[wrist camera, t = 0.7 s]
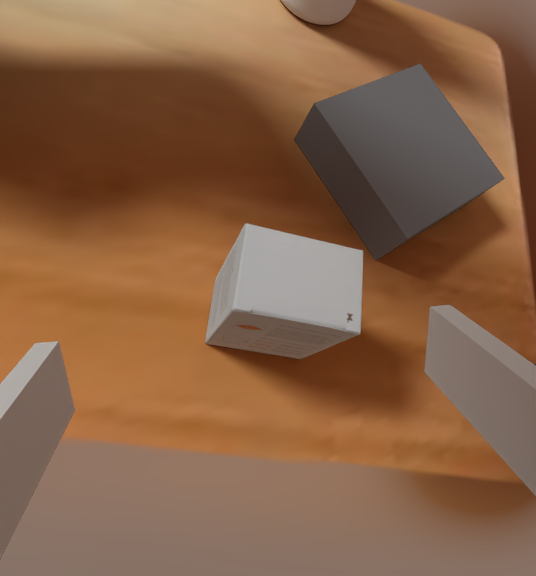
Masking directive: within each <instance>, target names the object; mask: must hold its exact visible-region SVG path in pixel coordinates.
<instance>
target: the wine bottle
mask: <svg viewBox="0 0 536 576" xmlns="http://www.w3.org/2000/svg"><path fill="white" fill-rule="evenodd" d="M281 1H282V3H283V4H284V5H285V6H286V7H287V8H288V9H289V10H290V11H291V12H292V13H293V14H295V15H296V16H298V17H299V18H301V19H303V20H305V21H307V22H310V23H314V24H318V25H330V24H334V23H338V22H339V21H341V20H343V19H344V18H345V17H346V16H347V15H348V14H349V13H350V12H351V10H352V8H353V6H354V4H355V3H356V1H357V0H281Z"/></svg>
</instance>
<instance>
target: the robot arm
mask: <svg viewBox="0 0 536 576" xmlns="http://www.w3.org/2000/svg"><path fill="white" fill-rule="evenodd" d="M424 372H425V373H426V374H427V375H428V377H429V378H430V379H431V380H432V381H433V382H434V383H435V384H436V386H437V387H438V388H439V389H440V390H441V391H442V392H443V393H444V394H445V396H446V397H447V398H448V399H449V400H450V401H451V402H452V403H453V404H454V406H455V407H456V408H457V409H458V410H459V411H460V412H461V413H462V415H463V416H464V417H465V418H466V419H467V420H468V421H469V422H470V423H471V425H472V426H473V427H474V428H475V429H476V430H477V431H478V432H479V433H480V435H481V436H482V437H483V438H484V439H485V440H486V441H487V442H488V443H489V445H490V446H491V447H492V448H493V449H494V450H495V451H496V452H497V454H498V455H499V456H500V457H501V458H502V459H503V460H504V461H505V462H506V464H507V465H508V466H509V467H510V468H511V469H512V470H513V471H514V472H515V474H516V475H517V476H518V477H519V478H520V479H521V480H522V481H523V483H524V484H525V485H526V486H527V487H528V488H529V489H530V490H531V491H532V493H533V494H534V495H535V496H536V364H533V363H531V362H530V361H528V360H527V359H526V358H524V357H523V356H521V355H520V354H519V353H517V352H516V351H514V350H513V349H512V348H510V347H509V346H507V345H506V344H505V343H503V342H502V341H500V340H499V339H498V338H496V337H495V336H493V335H492V334H491V333H489V332H488V331H486V330H485V329H483V328H482V327H481V326H479V325H478V324H476V323H475V322H474V321H472V320H471V319H469V318H468V317H467V316H465V315H464V314H462V313H461V312H460V311H458V310H457V309H455V308H454V307H453V306H451V305H441V306H430V314H429V325H428V337H427V348H426V359H425V371H424ZM74 411H75V408H74V403H73V399H72V395H71V391H70V387H69V382H68V378H67V374H66V370H65V365H64V361H63V357H62V353H61V348H60V344H59V341H55V342H45V343H35V344H34V345H33V346H32V348H31V349H30V350H29V351H28V352H27V353H26V355H25V356H24V357H23V358H22V359H21V360H20V362H19V363H18V364H17V365H16V366H15V367H14V369H13V370H12V371H11V372H10V373H9V375H8V376H7V377H6V378H5V379H4V380H3V382H2V383H1V384H0V559H1V557H2V555H3V553H4V551H5V549H6V547H7V545H8V543H9V541H10V539H11V537H12V535H13V533H14V531H15V529H16V527H17V525H18V523H19V521H20V519H21V517H22V515H23V513H24V511H25V509H26V507H27V505H28V503H29V501H30V499H31V497H32V495H33V493H34V491H35V489H36V487H37V485H38V483H39V481H40V479H41V477H42V475H43V473H44V471H45V469H46V467H47V465H48V463H49V461H50V459H51V457H52V455H53V453H54V451H55V449H56V447H57V445H58V443H59V441H60V439H61V437H62V435H63V433H64V431H65V429H66V427H67V425H68V423H69V421H70V419H71V417H72V415H73V413H74Z"/></svg>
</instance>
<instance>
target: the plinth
mask: <svg viewBox="0 0 536 576" xmlns="http://www.w3.org/2000/svg"><path fill="white" fill-rule="evenodd" d="M294 140H295V142H296V143H297V144H298V146H299V147H300V149H301V150H302V152H303V153H304V155H305V156H306V158H307V159H308V161H309V162H310V164H311V165H312V167H313V168H314V170H315V171H316V173H317V174H318V176H319V177H320V179H321V180H322V181H323V183H324V184H325V186H326V187H327V189H328V190H329V192H330V193H331V195H332V196H333V198H334V199H335V201H336V202H337V204H338V205H339V207H340V208H341V210H342V211H343V213H344V214H345V216H346V217H347V218H348V220H349V221H350V223H351V224H352V226H353V227H354V229H355V230H356V232H357V233H358V235H359V236H360V238H361V239H362V241H363V242H364V244H365V245H366V247H367V248H368V250H369V251H370V253H371V254H372V256H373V257H374V258H375V260H377V259H379V258H381V257H382V256H384V255H385V254H387V253H389V252H390V251H392V250H393V249H395V248H397V247H398V246H400V245H402V244H403V243H405V242H406V241H408V240H410V239H411V238H413V237H414V236H416V235H418V234H419V233H421V232H423V231H424V230H426V229H427V228H429V227H431V226H432V225H434V224H435V223H437V222H439V221H440V220H442V219H443V218H445V217H447V216H448V215H450V214H452V213H453V212H455V211H456V210H458V209H460V208H461V207H463V206H464V205H466V204H468V203H469V202H471V201H472V200H474V199H475V198H477V197H478V196H480V195H481V194H483V193H484V192H486V191H487V190H488V189H490V188H491V187H493V186H494V185H496V184H497V183H499V182H500V181H502V180H503V179H505V178H504V177H503V176H502V174H501V173H500V171H499V170H498V169H497V167H496V166H495V165H494V163H493V162H492V160H491V159H490V158H489V156H488V155H487V154H486V152H485V151H484V150H483V148H482V147H481V145H480V144H479V143H478V141H477V140H476V139H475V137H474V136H473V135H472V133H471V132H470V130H469V129H468V128H467V126H466V125H465V124H464V122H463V121H462V119H461V118H460V117H459V115H458V114H457V113H456V111H455V110H454V109H453V107H452V106H451V104H450V103H449V102H448V100H447V99H446V98H445V96H444V95H443V94H442V92H441V91H440V89H439V88H438V87H437V85H436V84H435V83H434V81H433V80H432V79H431V77H430V76H429V74H428V73H427V72H426V70H425V69H424V68H423V66H422V65H421V64H418V65H415V66H413V67H410V68H407V69H405V70H402V71H399V72H397V73H394V74H391V75H389V76H386V77H383V78H381V79H378V80H375V81H373V82H370V83H367V84H365V85H362V86H359V87H357V88H354V89H351V90H349V91H346V92H343V93H341V94H338V95H335V96H333V97H330V98H327V99H325V100H322V101H319V102H317V103H314V105H313V106H312V108H311V110H310V112H309V114H308V115H307V117H306V119H305V121H304V122H303V124H302V126H301V128H300V130H299V131H298V133H297V135H296V137H295V139H294Z"/></svg>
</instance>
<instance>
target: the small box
mask: <svg viewBox="0 0 536 576" xmlns="http://www.w3.org/2000/svg"><path fill="white" fill-rule="evenodd" d="M362 280H363V250H359V249H355V248H351V247H347V246H342V245H338V244H334V243H329V242H325V241H321V240H316V239H312V238H308V237H303V236H299V235H295V234H291V233H286V232H282V231H278V230H273V229H269V228H265V227H261V226H257V225H252V224H249V223H246V224H245V225H244V227H243V228H242V230H241V232H240V234H239V236H238V238H237V240H236V242H235V244H234V245H233V247H232V249H231V251H230V253H229V254H228V256H227V258H226V260H225V262H224V264H223V266H222V268H221V270H220V271H219V273H218V275H217V277H216V280H215V285H214V291H213V297H212V303H211V309H210V315H209V321H208V327H207V334H206V340H205V343H206V344H210V345H216V346H223V347H229V348H235V349H241V350H247V351H254V352H260V353H265V354H272V355H278V356H284V357H290V358H296V359H302V358H305V357H307V356H310V355H312V354H315V353H317V352H319V351H322V350H324V349H327V348H329V347H331V346H333V345H336V344H338V343H340V342H343V341H345V340H348V339H350V338H352V337H355V336H357V335H360V333H361V309H362Z"/></svg>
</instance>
